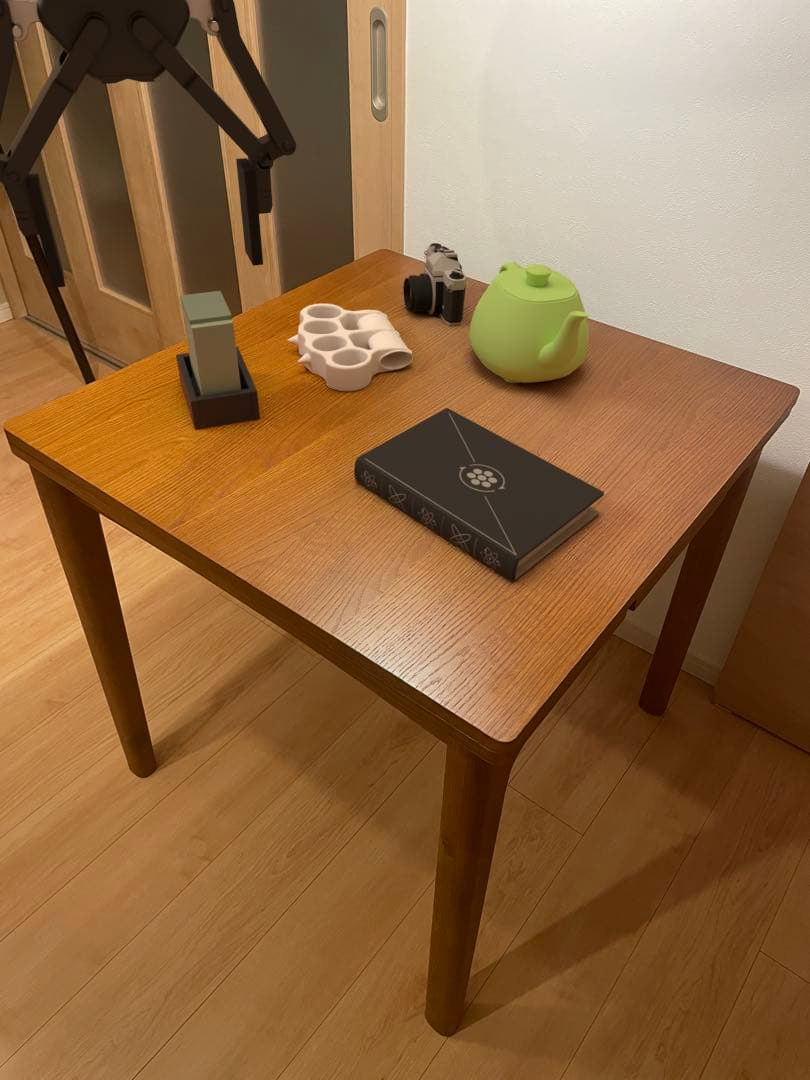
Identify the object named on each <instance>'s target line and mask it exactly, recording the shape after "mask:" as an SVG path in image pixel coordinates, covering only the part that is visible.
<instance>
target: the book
mask: <svg viewBox="0 0 810 1080" xmlns="http://www.w3.org/2000/svg"><path fill="white" fill-rule="evenodd" d="M353 473H354V478H355V481H356V482H357V483H359V484H360V485H362V486H363V487H365V489H368V490H369V491H371V492H372V493H374V494H376V495H377V496H379V497H380V498H381V499H383V500H385V501H386V502H388V503H390V504H391V505H393V506H394V507H395V508H397V509H399V510H400V511H402V512H403V513H405V514H407V515H408V516H410V517H411V518H413V520H416V521H417V522H419V523H421V524H422V525H423V526H424V527H426V528H428V529H430V530H431V531H432V532H433V533H435V534H437V535H439V536H440V537H442V538H444V539H445V540H446V541H448V542H449V543H451V544H452V545H454V546H456V547H458V548H459V549H460V550H462V551H463V552H464V553H466V554H468V555H469V556H471V557H472V558H474V559H476V560H477V561H479V562H481V563H482V564H483V565H485V566H486V567H488V568H490V569H491V570H493V571H494V572H496V573H497V574H499V575H500V576H502V577H504V578H505V579H506V580H508V581H510V582H511V583H513V582H515V581H517V580H518V579H519V578H521V577H522V576H523V575H524V574H526V573H527V572H528V571H529V570H530V569H532V568H533V567H534V566H536V565H537V564H538V563H540V561H542V560H543V559H544V558H546V557H547V556H548V555H549V554H551V553H552V552H553V551H554V550H556V549H557V548H559V546H561V545H562V544H563V543H564V542H566V541H567V540H568V539H569V538H571V537H572V536H573V535H575V534H576V533H577V532H578V531H579V530H581V529H582V528H584V527H585V526H586V525H587V524H588V523H590V522H591V521H592V520H594V519H595V518H596V517H598V515H599V514H600V512H599V511H598V510H595V509H594V508H591V506H592V505H594V504H595V503H596V502H597V501H598V500H600V499H601V498H603V497H604V496H605V492H604V491H603V490H601V489H599V488H597V487H596V486H593V485H592V484H590V483H588V482H586V481H585V480H583V479H581V478H579V477H578V476H575V475H573V474H571V473H570V472H567V471H565V470H563V468H560V467H558V466H557V465H554V464H553V463H551V462H549V461H547V460H545V459H544V458H542V457H540V456H538V455H536V454H534V453H532V452H530V450H529V451H528V450H527V449H525V448H523V447H521V446H519V445H517V444H515V443H514V442H512V441H510V440H508V439H506V438H504V437H503V436H501V435H499V434H496V433H495V432H494V431H492V430H489V429H488V428H486V427H484V426H482V425H481V424H478V423H476V422H475V421H473V420H471V419H469V418H467V417H465V416H464V415H462V414H459V413H458V412H456V411H455V410H453V409H451V408H449V407H445V408H444V409H441V410H440V411H438V412H436V413H435V414H432V415H431V416H429V417H427V418H425V419H423V420H421V421H420V422H418V423H416V424H414V425H413V426H411V427H410V428H409V427H408V428H407V429H406V430H404V431H402V432H400V433H398V434H397V435H395V436H393V437H391V438H389V439H388V440H386V441H384V442H382V443H381V444H379V445H377V446H376V447H373V448H372V449H370V450H368V451H366V452H365V453H363V454H361V455H359V456H358V457H356V459H355V462H354V469H353Z"/></svg>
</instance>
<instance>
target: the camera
mask: <svg viewBox="0 0 810 1080" xmlns="http://www.w3.org/2000/svg"><path fill="white" fill-rule="evenodd" d="M423 254H424V257H423V258H424V259H425V263H424V267H423V268H424V270H423V272H422V273H420V274H419V275H417V274H411V275H409V276H408V277H406V278H405V279H404V280H403V300H404V305H405V308H406V309H407V311H411V312H412V313H415V312H419V311H421V312H422V313H428V314H429V316H439V317H440V318H441V320H442V321H443V324H446V325H447V326H451V327H452V326H460V325H462V323H463V319H464V308H465V300H466V299H465V298H466V289H467V280H468V279H467V278H468V277H467V275H466V274H465V272H464V271H463V265H461V263H460V261H459V256H458V253H457V252H455V249H450V248H448V247H447V246H445V245H442V244H440V243H437V242H433V243H430V244H429V245H428V246H427V248H426V250H424V252H423Z"/></svg>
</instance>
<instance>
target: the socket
mask: <svg viewBox="0 0 810 1080" xmlns="http://www.w3.org/2000/svg"><path fill="white" fill-rule="evenodd" d="M240 350H241V349H240V348H239V346H238V345H236V351H237V359H238V368H239V376H240V385H241V390H238V391H231V392H225V393H218V394H212V395H206V396H199V395H198V392H197V389H196V387H195V384H194V381H193V375H192V369H191V362H190V356H189V352H184V353H178V354H175V358H176V363H177V369H178V375H179V381H180V384H181V388H182V391H183V394H184V398H185V401H186V404H187V408H188V411H189V414H190V417H191V421H192V425H193V427H194V429H195V430H200V429H201V430H202V429H207V428H212V427H213V428H214V427H219V426H224V425H230V424H231V425H232V424H237V423H242V422H249V421H254V420H260V419H261V414H260V406H259V404H260V403H259V395H258V389H257V387H256V385H255V383H254V381H253V378H252V376H251V374H250V371H249V369H248V366H247V364H246V362H245V360H244V357H243V355H242V353H241V351H240Z"/></svg>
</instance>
